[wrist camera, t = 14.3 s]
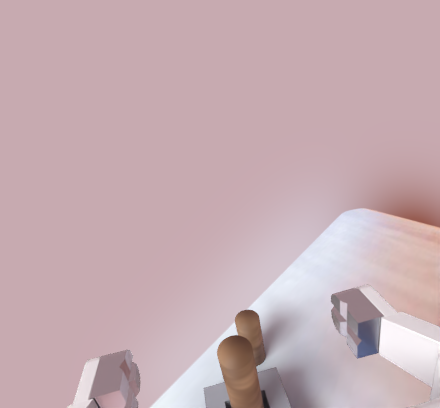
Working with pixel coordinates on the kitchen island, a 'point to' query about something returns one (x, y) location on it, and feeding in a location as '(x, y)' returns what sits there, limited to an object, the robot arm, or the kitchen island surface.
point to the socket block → (269, 386)
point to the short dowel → (251, 333)
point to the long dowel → (240, 372)
